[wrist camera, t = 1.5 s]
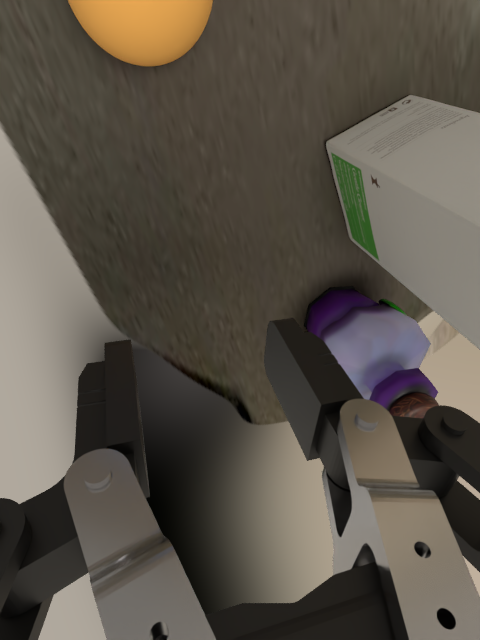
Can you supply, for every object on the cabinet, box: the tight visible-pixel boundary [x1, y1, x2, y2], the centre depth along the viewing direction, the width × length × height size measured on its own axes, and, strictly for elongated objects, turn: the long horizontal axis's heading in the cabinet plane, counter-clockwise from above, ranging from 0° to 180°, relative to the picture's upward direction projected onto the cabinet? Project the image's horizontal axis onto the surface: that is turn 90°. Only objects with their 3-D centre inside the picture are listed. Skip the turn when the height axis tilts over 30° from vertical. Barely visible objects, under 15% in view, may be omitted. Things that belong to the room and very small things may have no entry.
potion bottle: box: [304, 286, 439, 418], centre depth 30 cm, size 9×9×12 cm
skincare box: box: [326, 95, 480, 350], centre depth 22 cm, size 8×7×16 cm
